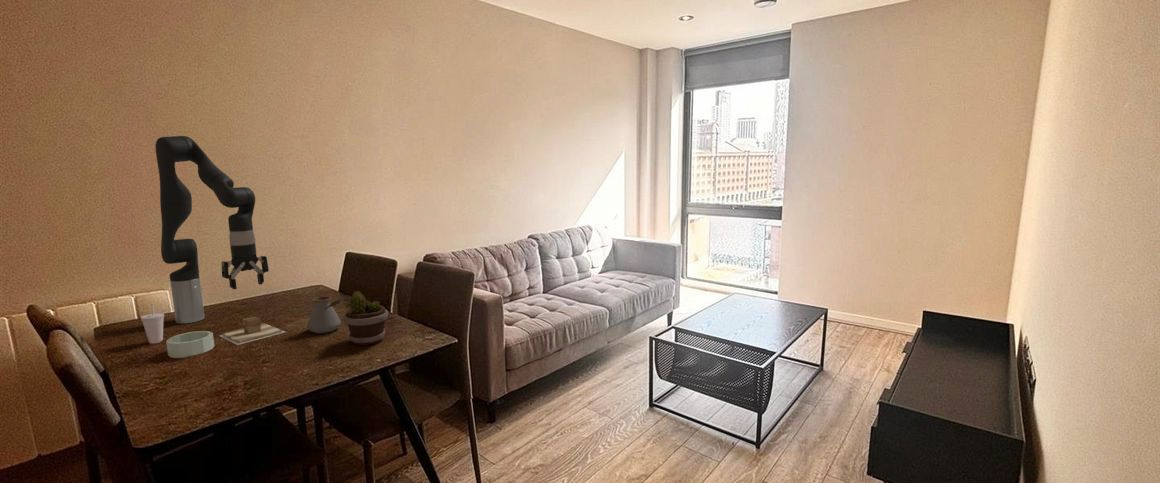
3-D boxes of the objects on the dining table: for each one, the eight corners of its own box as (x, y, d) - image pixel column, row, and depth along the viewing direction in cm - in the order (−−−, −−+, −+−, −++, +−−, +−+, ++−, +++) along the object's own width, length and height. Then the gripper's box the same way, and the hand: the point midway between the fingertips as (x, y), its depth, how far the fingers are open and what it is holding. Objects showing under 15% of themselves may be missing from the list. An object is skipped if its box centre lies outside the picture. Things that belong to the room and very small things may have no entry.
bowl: (163, 352, 165) (161, 338, 164) (205, 342, 175) (204, 328, 174) (176, 360, 158) (174, 346, 158) (219, 349, 168) (217, 335, 167)
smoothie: (154, 345, 171) (148, 307, 169) (139, 344, 173) (133, 306, 170) (172, 339, 178) (167, 302, 175) (158, 337, 179) (152, 300, 177)
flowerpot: (371, 331, 187) (368, 280, 184) (398, 338, 179) (395, 285, 176) (336, 343, 174) (331, 288, 171) (363, 351, 167) (359, 294, 164)
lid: (223, 335, 181) (221, 320, 180) (264, 325, 192) (263, 310, 191) (239, 343, 173) (238, 327, 172) (282, 332, 184) (280, 317, 183)
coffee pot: (302, 331, 186) (299, 293, 184) (333, 324, 195) (330, 287, 192) (326, 345, 172) (322, 304, 170) (358, 336, 181) (355, 297, 179)
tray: (219, 336, 180) (219, 335, 180) (266, 325, 193) (266, 324, 193) (238, 345, 171) (237, 344, 171) (286, 333, 184) (286, 332, 184)
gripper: (259, 239, 185) (264, 281, 187) (215, 244, 173) (220, 289, 176) (268, 241, 180) (273, 284, 183) (224, 246, 169) (229, 292, 171)
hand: (247, 286), depth 179 cm, fingers open, 8 cm apart
